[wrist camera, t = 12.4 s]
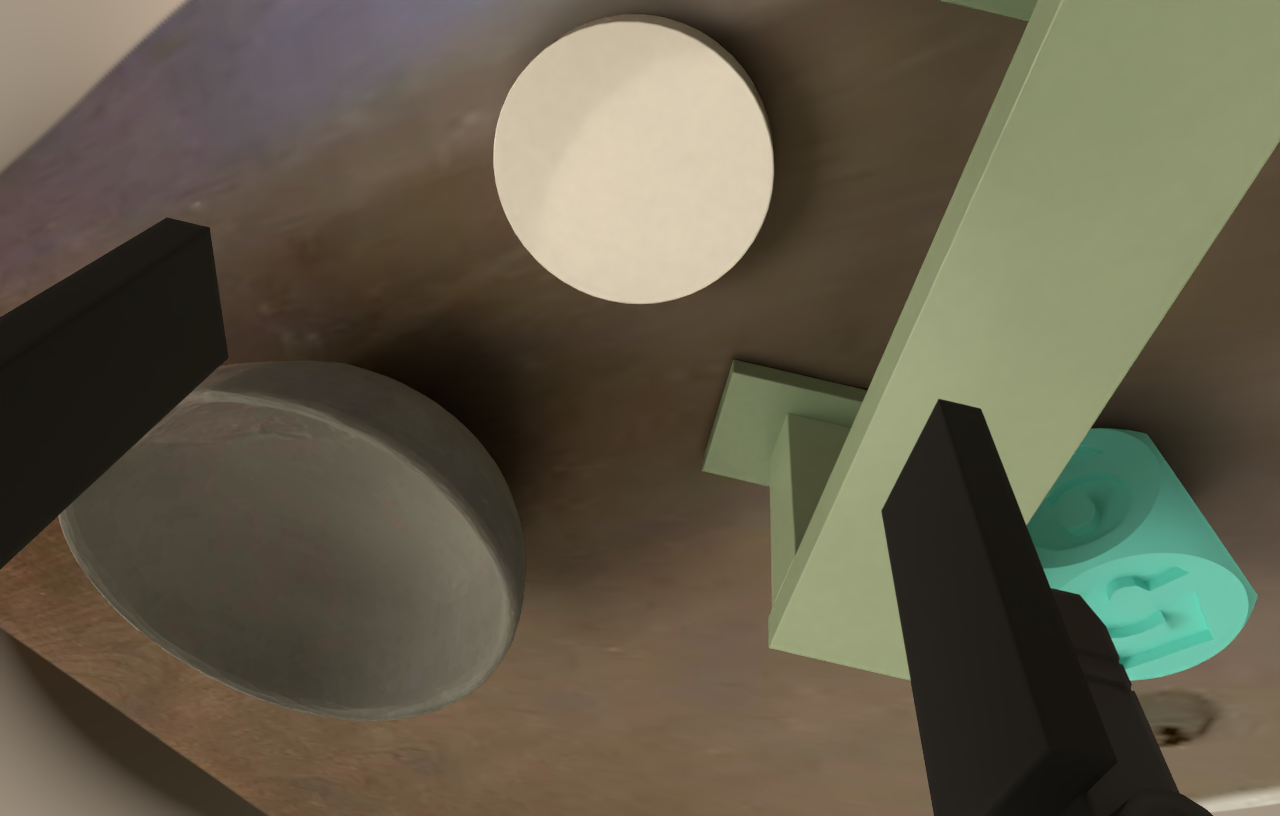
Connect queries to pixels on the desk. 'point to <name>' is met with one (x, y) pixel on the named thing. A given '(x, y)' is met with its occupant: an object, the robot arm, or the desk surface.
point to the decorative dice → (1140, 555)
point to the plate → (635, 159)
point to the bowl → (311, 541)
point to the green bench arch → (1015, 291)
